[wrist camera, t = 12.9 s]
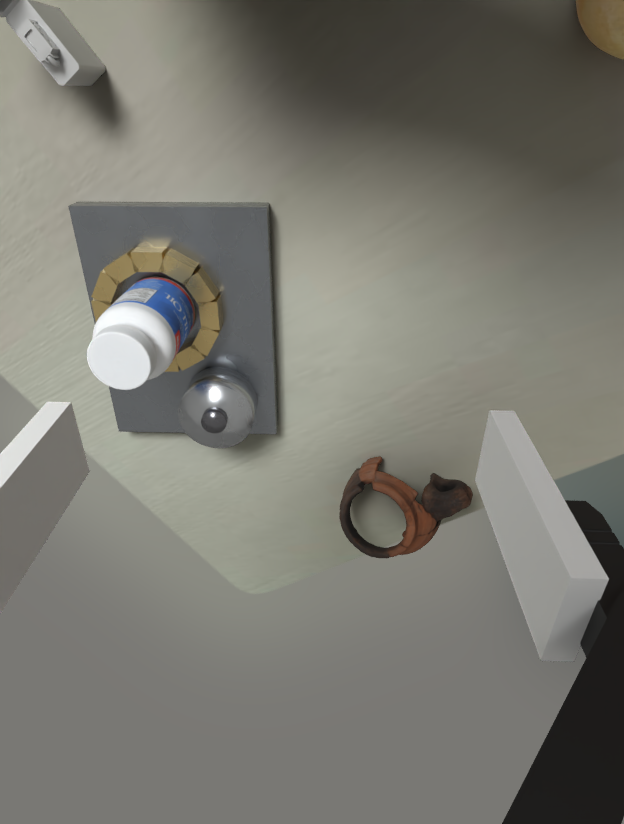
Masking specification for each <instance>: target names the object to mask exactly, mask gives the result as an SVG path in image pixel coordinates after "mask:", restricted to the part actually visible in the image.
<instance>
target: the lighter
mask: <svg viewBox="0 0 624 824" xmlns="http://www.w3.org/2000/svg"><path fill="white" fill-rule="evenodd" d="M0 17H6V21H7V23H8V24H9V25H10V26H11V28H12V29H13V30H14V31H15V32H16V34H17V35H18V36H19V38H20V39H21V40H22V41H23V42H24V44H25V45H26V46H27V47H28V48H29V50H30V51H31V52H32V53H33V54H34V56H35V57H36V58H37V59H38V60H39V62H41V64H42V65H43V66H44V67H45V68H46V70H47V71H48V72H49V73H50V74H51V76H52V77H53V78H54V79H55V80H56V82H57V83H58V84H59V85H62V86H92V85H93V83H94V82H95V81H96V80H97V79H98V78H99V77H100V76H101V75H102V74H103V73H104V72H105V65H104V64H103V63H102V62H101V60H100V59H99V58H98V57H97V55H96V54H95V53H94V51H93V50H92V49H91V48H90V46H89V45H88V44H87V43H86V41H85V40H84V39H83V37H82V36H81V35H80V34H79V32H78V31H77V30H76V28H75V27H74V26H73V25H72V23H71V22H70V21H69V20H68V18H67V17H66V16H65V14H64V13H63V12H62V11H61V9H60V8H57V7H54V6H50V5H47V4H43V3H40V2H36V1H33V0H0Z"/></svg>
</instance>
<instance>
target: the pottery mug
mask: <svg viewBox="0 0 624 824" xmlns="http://www.w3.org/2000/svg"><path fill="white" fill-rule="evenodd" d="M382 461H383V460H382V458H381V457H374V458H370V459H368V460H367V461H366V462H365V463H363V464H362V467H361V468H358V469H356V470H355V472H354V473H353V474H352V476H351V478H350V479H349V481H348V483H347V485H346V487H345V489H344V493H343V498H342V501H341V504H340V522H341V526H342V529H343V531H344V533H345V535H346V537H347V538H348V540H349V541H350V542H351V543H352V544H353V545H354V546H355V547H356V548H357V549H359V550H360V551H361V552H363V553H365V554H366V555H369V556H371V557H376V558H389V557H394V556H397V555H403V554H409V553H413V552H415V551H417V550H419V549H421V548H422V547H423V546H425V545H426V544H427V543H428V542H429V541H430V540H431V539H432V538H433V536H434V535H435V533H436V531H437V530H438V528H439V525H440V522H441V519H443V518H446V517H450V516H452V515H453V514H455V513H457V512H459V511H460V510H462V509H464V508H467V507H468V506H469V505H470V504H471V500H472V496H473V494H472V491H471V488H470V487H469V486H467V485H466V484H465V483H463V482H462V481H459V480H448V479H443V478H441V477H439V476H438V475H436V474H434V473H433V474H431V478H430V479H431V480H430V483H429V484H428V485H427V486H426V487H425V488H424V491H423V493H422V500H421V501H422V505H421V504H419V503H418V502H417V501H416V500H415V498H416V496H417V495H418V493H417V492H416V491H415V490H414V489H412V488H411V487H410V486H408V485H407V484H406V483H404V482H403V481H401V480H398V479H397V478H395V477H393V476H391V475H389V474H387V473H384V472H380V471H378V467H379V465H380V464H381V462H382ZM370 483H372V486H373V490H375V491H379V492H382V493H384V494H386V495H388V496H390V497H391V498H392V499H393V500H394V501H395V502H396V503H397V504H398V505H399V506H400V508H401V509H402V511H403V512H404V515H405V518H406V524H407V526H406V531H404V532H403V534H402V536H403V537H404V538H403V540H402V541H401V542H400V543H399V544H398V545H396V546H393V547H389V548H382V547H377V546H375V545H372V544H370V543H369V542H367V541H365V540H364V539H363V538H362V537H361V536H360V535H359V534H358V532H357V530H356V529H355V528H354V526H353V524H352V521H351V518H350V506H351V502H352V500H353V498H354V497H355V496H356V495H357V494H359V493H360V492H362V491H363V490H364V485H365V484H370Z"/></svg>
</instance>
